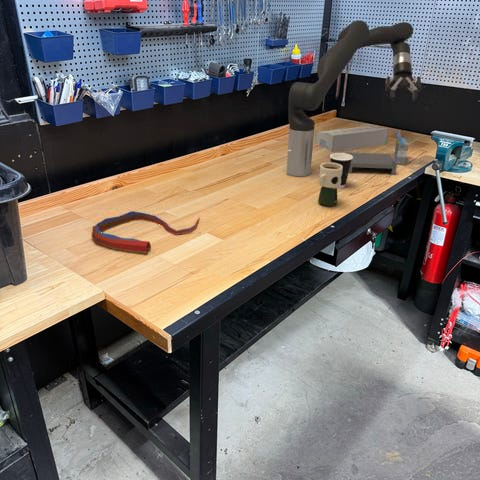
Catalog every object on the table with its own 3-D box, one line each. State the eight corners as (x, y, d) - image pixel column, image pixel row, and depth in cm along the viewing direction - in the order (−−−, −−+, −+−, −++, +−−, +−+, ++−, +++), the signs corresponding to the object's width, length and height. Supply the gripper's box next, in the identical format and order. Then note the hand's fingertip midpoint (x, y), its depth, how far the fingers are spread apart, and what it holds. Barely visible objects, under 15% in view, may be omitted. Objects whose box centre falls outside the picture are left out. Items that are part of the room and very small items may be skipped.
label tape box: (405, 165, 186) (410, 135, 180) (394, 164, 186) (400, 134, 181) (402, 158, 193) (408, 129, 188) (392, 158, 194) (397, 129, 188)
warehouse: (366, 137, 224) (368, 122, 220) (386, 145, 212) (388, 129, 209) (314, 144, 213) (316, 127, 209) (332, 152, 201) (334, 135, 198)
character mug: (327, 211, 145) (331, 172, 139) (308, 205, 149) (312, 167, 143) (345, 202, 152) (350, 164, 145) (327, 196, 156) (331, 159, 150)
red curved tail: (165, 206, 150) (163, 191, 148) (214, 222, 137) (213, 207, 135) (81, 241, 129) (78, 225, 127) (130, 264, 116) (127, 247, 114)
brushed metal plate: (347, 173, 177) (348, 163, 175) (343, 161, 189) (344, 152, 187) (395, 174, 175) (396, 164, 173) (388, 163, 188) (389, 153, 186)
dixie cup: (323, 182, 167) (326, 153, 162) (343, 180, 169) (346, 152, 164) (332, 190, 161) (335, 160, 155) (353, 188, 162) (357, 158, 157)
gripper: (416, 72, 198) (418, 105, 193) (383, 72, 199) (384, 104, 194) (422, 60, 191) (424, 94, 186) (387, 60, 192) (388, 94, 187)
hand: (403, 99), depth 190 cm, fingers open, 8 cm apart
